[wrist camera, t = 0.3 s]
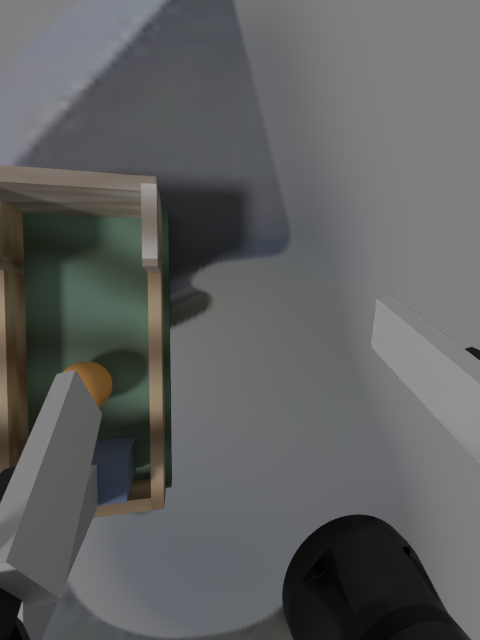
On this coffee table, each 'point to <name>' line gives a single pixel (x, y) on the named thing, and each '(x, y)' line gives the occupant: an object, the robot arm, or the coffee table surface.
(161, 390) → the wooden tray
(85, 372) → the ball
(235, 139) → the coffee table surface
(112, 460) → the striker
